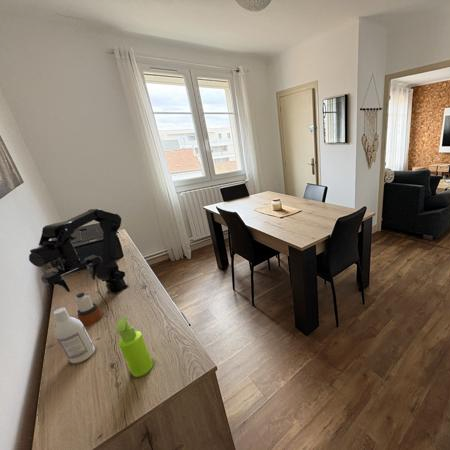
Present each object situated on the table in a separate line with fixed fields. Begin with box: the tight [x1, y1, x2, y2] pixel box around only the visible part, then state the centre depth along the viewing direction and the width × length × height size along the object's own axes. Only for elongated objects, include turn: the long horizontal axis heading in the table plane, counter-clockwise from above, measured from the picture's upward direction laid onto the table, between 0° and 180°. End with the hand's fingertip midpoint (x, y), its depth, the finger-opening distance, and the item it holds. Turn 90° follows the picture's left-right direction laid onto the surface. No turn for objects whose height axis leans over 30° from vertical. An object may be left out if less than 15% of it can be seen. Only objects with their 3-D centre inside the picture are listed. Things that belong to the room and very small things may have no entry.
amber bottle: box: [76, 302, 103, 326], centre depth 101 cm, size 7×7×6 cm
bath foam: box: [52, 307, 96, 364], centre depth 81 cm, size 7×7×20 cm
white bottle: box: [74, 292, 93, 312], centre depth 98 cm, size 4×4×7 cm
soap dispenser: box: [115, 317, 154, 378], centre depth 74 cm, size 6×7×20 cm
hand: (81, 285), depth 103 cm, fingers open, 9 cm apart
